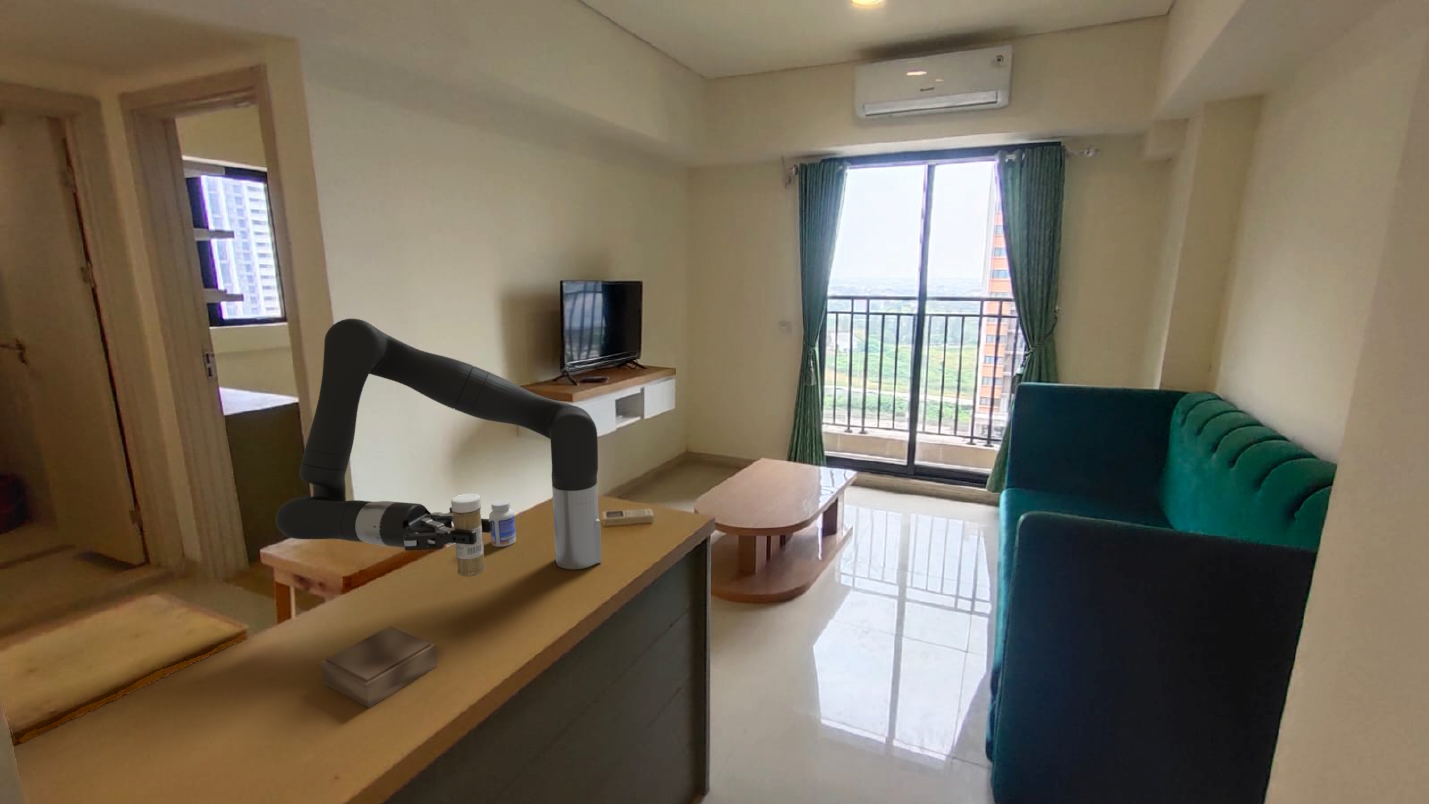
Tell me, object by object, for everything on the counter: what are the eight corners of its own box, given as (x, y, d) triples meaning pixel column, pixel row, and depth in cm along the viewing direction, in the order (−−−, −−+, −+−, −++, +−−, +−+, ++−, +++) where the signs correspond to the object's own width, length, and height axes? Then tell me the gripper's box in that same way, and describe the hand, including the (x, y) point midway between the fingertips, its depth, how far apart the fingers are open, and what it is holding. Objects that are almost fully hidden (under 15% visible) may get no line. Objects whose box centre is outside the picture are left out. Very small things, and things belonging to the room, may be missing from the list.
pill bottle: (519, 538, 143) (517, 498, 141) (510, 548, 138) (507, 507, 136) (497, 537, 144) (494, 497, 142) (486, 546, 138) (483, 506, 136)
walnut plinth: (393, 646, 101) (390, 623, 100) (437, 666, 95) (435, 642, 95) (323, 683, 91) (320, 659, 90) (369, 708, 86) (366, 682, 85)
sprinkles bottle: (484, 563, 108) (479, 491, 105) (487, 574, 104) (481, 499, 101) (456, 568, 106) (450, 494, 103) (457, 580, 102) (451, 503, 99)
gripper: (360, 518, 98) (456, 527, 95) (418, 489, 112) (504, 496, 109) (365, 562, 100) (460, 572, 97) (421, 528, 114) (506, 535, 110)
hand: (483, 531), depth 103 cm, fingers closed on sprinkles bottle, 4 cm apart
